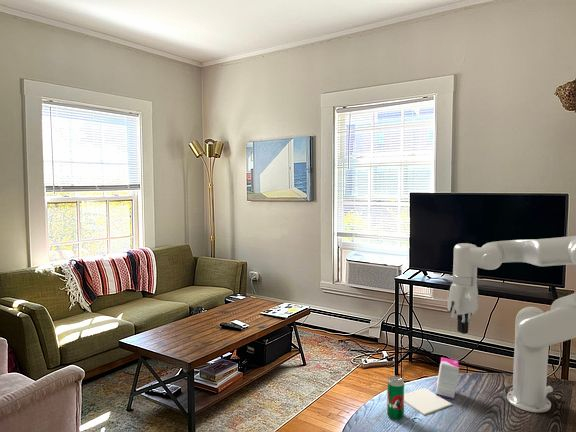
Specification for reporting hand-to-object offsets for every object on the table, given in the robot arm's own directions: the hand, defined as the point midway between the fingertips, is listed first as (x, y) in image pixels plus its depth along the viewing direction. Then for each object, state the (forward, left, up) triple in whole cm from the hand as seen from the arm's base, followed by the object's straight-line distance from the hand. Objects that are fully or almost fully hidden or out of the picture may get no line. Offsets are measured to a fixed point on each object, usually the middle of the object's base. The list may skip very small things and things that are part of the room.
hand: (462, 332), depth 152 cm
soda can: (+31, +2, -21) cm, 38 cm away
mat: (+17, 0, -20) cm, 27 cm away
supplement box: (+8, 0, -20) cm, 22 cm away
